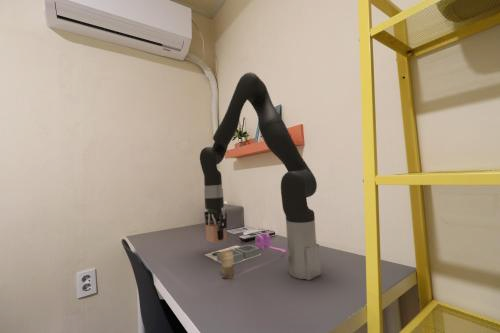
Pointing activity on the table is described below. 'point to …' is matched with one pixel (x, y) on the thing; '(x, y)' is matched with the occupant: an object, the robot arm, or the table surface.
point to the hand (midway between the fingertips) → (216, 238)
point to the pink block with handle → (265, 242)
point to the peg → (227, 264)
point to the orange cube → (214, 233)
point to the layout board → (237, 253)
